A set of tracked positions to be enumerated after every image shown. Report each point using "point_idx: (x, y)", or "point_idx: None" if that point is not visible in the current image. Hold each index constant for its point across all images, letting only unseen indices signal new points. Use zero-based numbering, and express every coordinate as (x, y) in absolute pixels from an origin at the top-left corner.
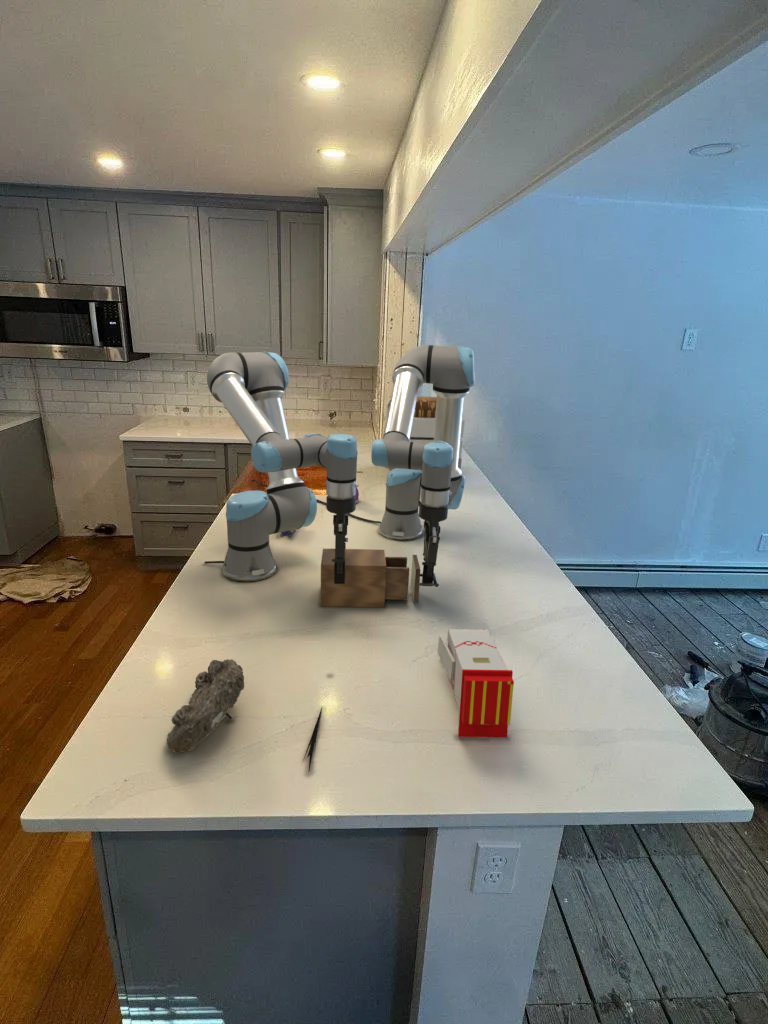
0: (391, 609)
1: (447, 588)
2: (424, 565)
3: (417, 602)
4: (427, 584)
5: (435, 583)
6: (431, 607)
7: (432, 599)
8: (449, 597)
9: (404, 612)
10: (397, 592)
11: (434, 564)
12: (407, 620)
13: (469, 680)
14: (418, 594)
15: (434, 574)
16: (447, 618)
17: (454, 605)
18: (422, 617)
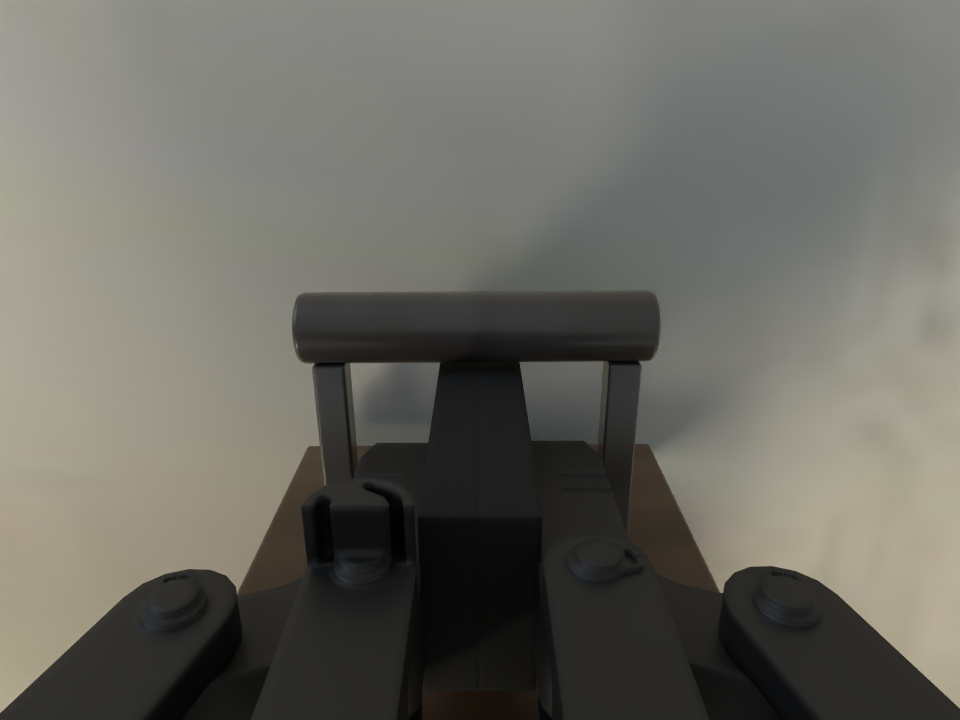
0: None
1: (218, 55)
2: (532, 666)
3: (651, 451)
4: (631, 449)
5: (651, 354)
6: (666, 302)
7: (500, 271)
8: (447, 67)
9: (735, 537)
10: None
11: (849, 636)
12: (869, 524)
13: None
14: (671, 495)
15: (363, 338)
16: (906, 167)
17: (639, 35)
18: (842, 404)
